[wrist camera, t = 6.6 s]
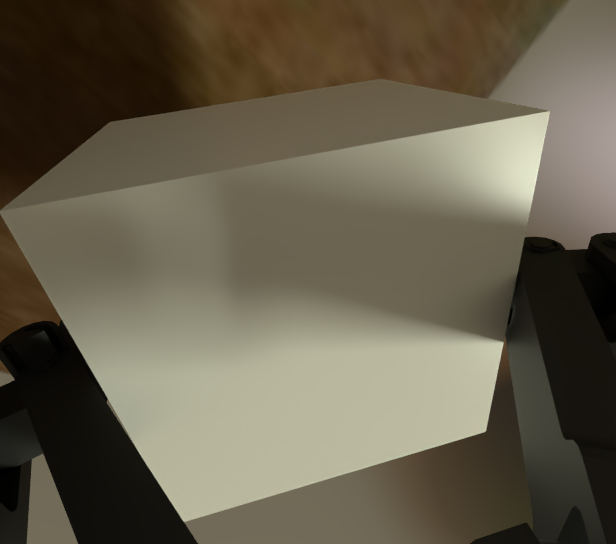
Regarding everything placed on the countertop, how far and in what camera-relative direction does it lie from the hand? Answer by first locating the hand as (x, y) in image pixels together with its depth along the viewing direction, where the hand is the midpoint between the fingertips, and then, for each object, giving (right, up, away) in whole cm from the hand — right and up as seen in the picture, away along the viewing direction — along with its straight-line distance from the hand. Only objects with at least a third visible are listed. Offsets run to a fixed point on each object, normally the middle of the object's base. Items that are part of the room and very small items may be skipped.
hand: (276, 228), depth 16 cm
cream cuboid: (0, 0, +1) cm, 1 cm away
